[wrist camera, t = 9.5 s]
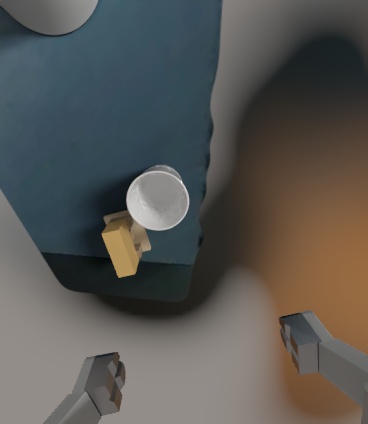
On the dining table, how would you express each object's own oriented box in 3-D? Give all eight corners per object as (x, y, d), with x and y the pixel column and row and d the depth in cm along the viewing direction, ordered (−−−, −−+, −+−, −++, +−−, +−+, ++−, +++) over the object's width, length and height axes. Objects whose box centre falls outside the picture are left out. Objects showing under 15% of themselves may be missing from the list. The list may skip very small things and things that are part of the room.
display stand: (105, 215, 39) (97, 224, 35) (138, 207, 39) (134, 215, 35) (119, 254, 42) (114, 266, 38) (151, 247, 41) (148, 258, 38)
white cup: (140, 207, 39) (130, 232, 29) (135, 161, 36) (122, 172, 27) (185, 205, 39) (189, 229, 30) (184, 159, 36) (188, 169, 27)
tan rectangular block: (108, 223, 35) (100, 233, 31) (124, 219, 35) (119, 229, 31) (123, 263, 38) (118, 277, 34) (138, 259, 38) (135, 273, 34)
